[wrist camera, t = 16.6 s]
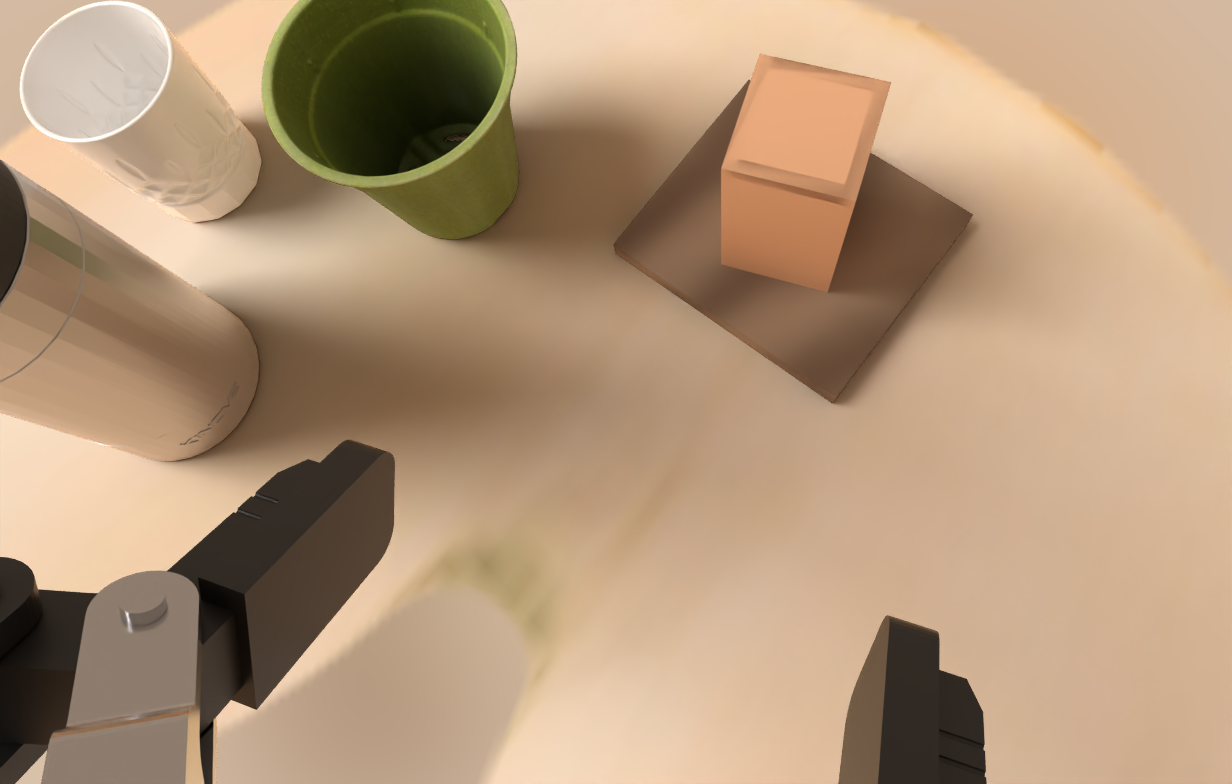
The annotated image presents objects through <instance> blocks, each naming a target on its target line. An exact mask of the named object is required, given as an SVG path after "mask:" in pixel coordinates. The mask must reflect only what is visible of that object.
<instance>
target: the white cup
mask: <svg viewBox="0 0 1232 784" xmlns="http://www.w3.org/2000/svg"><path fill="white" fill-rule="evenodd" d="M20 96H21V101H22V105H23V108H24V111H25V113H26V115H27V117H28V118H29V120H30V121H31V122H32V124H33V125H34V126H35V127H36V128H37V129H38V130H40V131H41V132H42V133H44V134H45V135H47V136H48V137H50V138H51V139H53V140H54V141H56V142H57V143H59V144H60V145H62V146H63V147H65V148H67V149H68V150H69V151H71V152H72V153H74V154H75V155H77V156H78V157H80V158H81V159H83V160H84V161H86V162H87V163H89V164H90V165H92V166H93V167H95V168H96V169H98V170H99V171H101V172H102V173H104V174H105V175H107V176H108V177H110V178H111V179H113V180H115V181H116V182H118V183H120V184H121V185H123V186H125V187H126V188H127V189H129V190H130V191H132V192H133V193H135V194H137V195H139V196H141V197H143V198H144V199H146V200H149V201H150V202H152V203H153V204H155V205H156V206H157V207H159V208H160V209H162V210H163V211H165V212H166V213H168V214H169V215H171V216H174V217H177V218H180V219H183V220H187V221H190V222H201V221H207V220H214V219H219V218H221V217H222V216H224V215H226V214H227V213H229V212H230V211H232V210H234V209H235V208H237V207H239V206H240V205H241V204H242V203H243V202H244V200H245V199H246V198H247V196H248V195H249V194H250V192H251V191H252V190H253V188H254V187H255V186H256V183H257V179H258V175H259V171H260V167H261V162H262V161H261V157H260V153H259V149H258V145H257V141H256V139H255V138H254V136H253V135H252V134H251V133H250V132H249V130H248V129H247V128H246V127H245V126H244V125H243V123H242V122H241V121H240V120H239V118H238V117H237V116H236V115H235V113H234V111H233V110H232V108H231V106H230V104H229V103H228V102H227V101H226V99H225V98H224V97H223V95H222V94H221V93H220V92H219V90H218V89H217V88H216V86H215V85H214V84H213V82H212V81H211V80H210V79H209V78H208V76H207V75H206V74H205V73H204V71H203V70H202V69H201V68H200V67H199V65H198V64H197V63H196V62H195V61H194V59H193V58H192V57H191V56H190V55H189V53H188V52H187V51H186V50H185V49H184V47H183V46H182V45H181V44H180V42H179V41H178V40H177V39H176V38H175V36H174V35H173V34H172V33H171V31H170V30H169V29H168V28H167V27H166V25H165V24H164V23H163V22H162V20H161V19H160V18H159V17H158V16H157V15H156V14H154V13H153V12H152V11H150V10H148V9H147V8H145V7H143V6H141V5H138V4H135V3H132V2H126V1H103V2H96V3H93V4H89V5H86V6H83V7H81V8H78V9H76V10H74V11H72V12H70V13H68V14H67V15H65V16H64V17H62V18H60V19H59V20H58V21H56V22H55V23H54V24H53V25H52V26H50V27H49V28H48V29H47V30H46V31H45V32H44V33H43V34H42V35H41V37H40V38H39V39H38V40H37V42H36V43H35V44H34V46H33V48H32V49H31V51H30V53H29V55H28V57H27V59H26V61H25V64H24V67H23V70H22V74H21V80H20Z"/></svg>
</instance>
